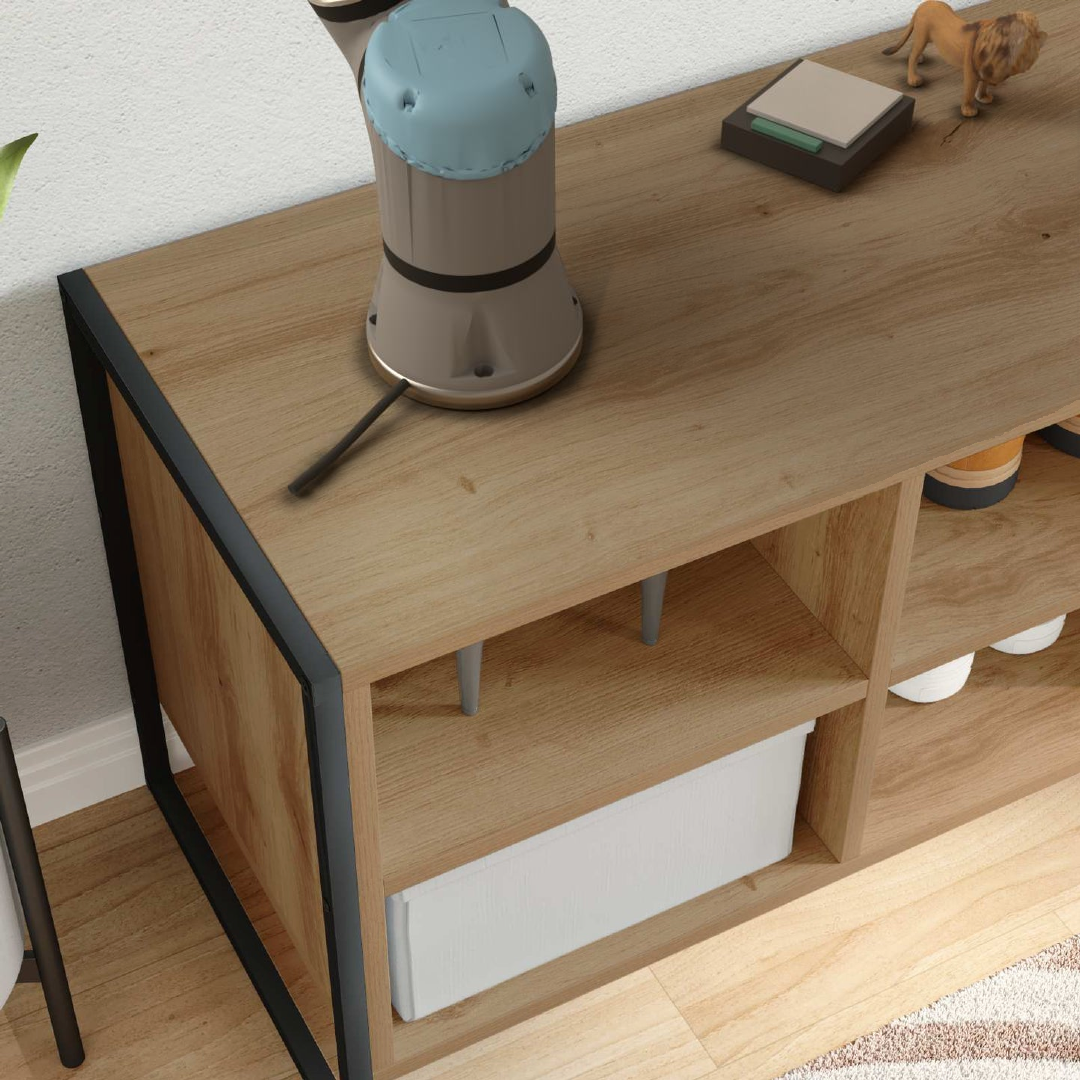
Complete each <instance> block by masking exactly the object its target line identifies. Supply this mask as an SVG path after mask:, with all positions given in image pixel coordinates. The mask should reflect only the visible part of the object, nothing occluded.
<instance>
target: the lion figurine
mask: <svg viewBox="0 0 1080 1080" xmlns="http://www.w3.org/2000/svg"><path fill="white" fill-rule="evenodd" d="M1039 24H1040V22H1039V20H1038V17H1037V16H1036V13H1034V12H1031V11H1029V10H1026V9H1025V10H1020V11H1017V10H1015V11H1013V12H1008V13H1007V14H1005V15H1001V16H999V17H995V18H993V17H992V18H989V19H986V18H983V19H982V18H981V19H978V20H977V21H975V22H973V23H970V22H967V20H964V19H962V18H961V17H960V16H959V15H957V13H956V12H955V11H954V9H953V8H952V7H951V5H950V4H948V3H947V2H945V1H942V0H924V1H923V2H921V3H920V4H919V5H918V6H917V8H916V9H915V10H914V13H913V14H912V16H911V19H910V21H909V23H908V26H907V28H906V30H905V31H904V34H903V35H902V37H901V39H900V40H899V41H898V42H897V43H896V44H895V45H892V46H889V47H887V48H885V49H883V50H881V54H882V55H884V56H887V57H890V56H892V55H895V54H896V53H898V52H899V51H900V49H902V48H903V47H904V46H905V44H906V43H907V42H908V40H909V38H910V37H911V35H912V33H913V41H912V44H911V46H910V49H909V58H908V73H907V83H908V85H909V86H911V87H917V86H921V85H922V84H923V78H922V77H921V76H920V75H919V73H918V64H920V63H923V62H924V61H925V54H924V51H925V50H926V48H927V46H928V44H931V43H933V44H934V45H935V48H936V49H937V52H938V53H939V55H940V56H941V58H942V59H943V60H944V61H945V62H946V63H948V64H949V65H951V66H952V67H953V68H956V69H959V70H961V71H963V92H962V99H961V114H962V115H963V116H964V117H969V118H970V117H974V116H976V115H977V114H978V109H977V108H976V102H975V99H976V100H977V101H978V102H979V103H982V104H985V105H986V104H990V103H992V102H993V99H994V96H993V94H991V93H990V92H987V90H988V88H989V85H990V84H994V85H996V86H998V85H1000V84H1002V83H1004V82H1005V81H1007V80H1008V79H1009V78H1010V77H1015V76H1016V75H1020V74H1025V73H1026V72H1027V71H1029V70H1031V68H1032V67H1033V66H1034V65H1035V64H1036V62H1037V61H1038V60H1039V57H1040V51H1041V49H1043V48H1044V47H1046V45H1047V41H1048V37H1049V35H1048V33H1047V32H1046V31H1044V30H1043V28H1042V27H1041V26H1040V25H1039Z"/></svg>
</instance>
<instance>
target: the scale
mask: <svg viewBox="0 0 1080 1080" xmlns="http://www.w3.org/2000/svg"><path fill="white" fill-rule="evenodd" d="M916 102H917V101H916V98H915V97H912V96H909V95H906V94H904V93H903V92H901V91H898V90H895V89H893V88H891V87H890V88H889V87H887V86H884V85H881V84H878V83H875V82H873V81H870V80H868V79H864V78H861V77H858V76H855V75H852V74H851V73H847V72H844V71H841V70H838V69H836V68H833V67H829V66H827V65H824V64H821V63H818V62H815V61H813V60H810V59H803V58H798V59H797V60H795V61H794V62H793V63H792V64H791V65H789V66H788V67H786V68H785V69H784V70H783V71H782V72H781V73H779V74H778V75H777V76H776V77H774V78H773V79H772V80H771V81H769V82H768V83H767V84H766V85H764V86H763V87H762V88H760V90H758V91H757V92H756V93H754V94H753V95H752V96H751V97H750V98H748V99H747V100H745V101H744V102H743V103H742V104H741V105H740V106H738V107H737V108H736V109H735V110H733V111H732V112H731V113H729V114H728V115H727V116H726V117H724V118H723V119H722V121H721V132H720V145H719V146H720V148H721V149H723V150H727V151H729V152H732V153H734V154H737V155H739V156H742V157H745V158H747V159H750V160H752V161H755V162H757V163H760V164H763V165H765V166H768V167H771V168H773V169H775V170H778V171H781V172H782V173H783V172H784V173H786V174H789V175H791V176H794V177H797V178H799V179H802V180H804V181H807V182H809V183H811V184H814V185H817V186H819V187H822V188H824V189H827V190H830V191H833V192H835V193H840V192H841V190H842V189H844V188H845V187H846V186H847V185H848V184H849V183H850V182H852V180H853V179H855V177H857V176H858V175H859V174H860V173H861V172H862V171H863V170H864V169H866V167H868V166H869V165H870V164H871V163H872V162H873V161H875V160H876V158H877V157H879V156H880V155H881V154H882V153H883V152H884V151H885V150H886V149H887V148H888V147H890V146H891V145H892V144H893V143H894V142H895V141H896V140H897V139H899V137H900V136H902V135H903V134H904V133H905V132H906V131H907V130H908V129H909V128H911V126H912V124H913V123H912V122H913V118H914V111H915V106H916Z"/></svg>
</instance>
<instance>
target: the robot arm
mask: <svg viewBox="0 0 1080 1080" xmlns="http://www.w3.org/2000/svg"><path fill="white" fill-rule="evenodd" d="M835 1H836V2H837V1H839V0H835ZM307 2H308V4H309V5H310V7H311V8H312V10H313V11H314V13H315V14H316V16H317V18H318V19H319V20H320V22H321V23H322V25H323V26H324V28H325V29H326V31H327V32H328V34H329V35H330V37H331V38H332V40H333V41H334V43H335V44H336V46H337V47H338V49H339V50H340V52H341V53H342V55H343V57H344V59H345V60H346V62H347V64H348V65H349V67H350V70H351V72H352V74H353V77H354V80H355V85H356V89H357V93H358V99H359V102H360V105H361V110H362V114H363V118H364V123H365V127H366V131H367V135H368V138H369V142H370V148H371V155H372V161H373V167H374V168H373V169H374V175H375V183H376V184H375V185H376V193H377V202H378V210H379V221H380V230H381V239H382V246H383V256H382V258H381V263H380V266H379V270H378V273H377V277H376V280H375V284H374V287H373V291H372V296H371V300H370V302H369V306H368V309H367V316H366V321H365V334H366V342H367V350H368V356H369V358H370V362H371V364H372V366H373V368H374V369H375V371H376V372H377V374H378V375H379V376H380V377H381V378H382V379H383V381H384V382H385V383H387V384H388V385H389V386H390V387H392V388H391V389H390V390H389V391H388V392H387V393H386V394H385V395H384V396H383V397H382V398H380V400H379V401H378V402H376V404H375V405H373V407H372V408H371V409H369V411H368V412H367V413H366V414H365V415H364V416H362V418H361V419H360V420H359V421H358V422H357V423H356V424H355V425H354V427H352V428H351V429H350V430H349V432H347V434H345V436H343V438H342V439H340V441H339V442H338V443H337V444H335V445H334V446H333V447H332V448H331V449H330V450H329V451H328V452H327V453H325V454H324V455H323V456H322V457H321V458H320V459H319V460H317V461H316V462H315V463H314V464H313V465H311V466H310V467H309V468H307V470H305V471H304V472H302V473H301V474H300V475H299V476H298V477H296V479H294V480H293V481H292V482H290V483H289V484H288V485H287V490H288V491H289V492H290V494H293V495H296V494H298V493H299V492H300V491H301V490H303V488H305V487H306V486H307V485H308V484H310V483H311V482H312V481H313V480H314V479H316V478H317V477H318V476H319V475H320V474H322V473H323V472H324V471H325V470H327V469H328V468H329V467H330V466H331V465H332V464H333V463H334V462H336V461H337V460H338V459H339V458H340V457H341V456H342V455H343V454H344V453H345V452H347V450H349V449H350V448H351V447H352V446H353V445H354V443H355V442H356V441H357V440H358V439H359V438H360V437H362V436H363V434H364V433H365V432H366V431H367V430H368V429H369V428H370V427H371V426H372V425H373V423H375V421H377V420H378V418H380V416H381V415H382V414H383V413H385V411H386V410H387V409H388V408H389V407H391V405H393V403H394V402H396V400H397V399H398V398H400V396H401V395H404V396H407V397H408V398H410V399H413V400H415V401H417V402H419V403H420V402H421V403H424V404H426V405H431V406H434V407H439V408H444V409H450V410H451V409H453V410H468V411H469V410H489V409H495V408H502V407H507V406H510V405H514V404H517V403H521V402H524V401H526V400H527V401H528V400H530V399H532V398H534V397H536V396H538V395H540V394H542V393H544V392H546V391H547V390H549V389H551V388H552V387H553V386H555V385H556V384H558V383H559V382H560V381H561V380H563V379H564V378H565V377H566V376H567V374H568V373H569V372H570V371H571V370H572V369H573V368H574V366H575V364H576V363H577V362H578V358H579V357H580V354H581V351H582V348H583V342H584V341H583V340H584V339H583V338H584V337H583V333H584V330H583V329H584V325H583V324H584V320H583V319H584V317H583V310H582V307H581V304H580V300H579V298H578V294H577V293H576V291H575V288H574V287H573V285H572V284H571V282H570V281H569V279H568V273H567V269H566V267H565V264H564V261H563V258H562V256H561V253H560V251H559V249H558V246H557V234H556V233H557V228H556V225H557V218H556V217H557V216H556V215H557V214H556V213H557V212H556V211H557V209H556V208H557V206H556V205H557V204H556V197H557V196H556V195H557V193H556V112H557V108H558V90H559V89H558V84H557V83H558V82H557V75H556V72H555V67H554V65H553V64H554V63H553V56H552V51H551V47H550V44H549V42H548V40H547V38H546V36H545V34H544V32H543V31H542V29H541V27H539V25H538V24H537V22H535V21H534V20H533V19H532V17H531V16H529V15H528V14H527V13H525V12H524V11H523V10H521V9H520V8H518V7H517V6H510V4H509V0H307Z"/></svg>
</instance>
